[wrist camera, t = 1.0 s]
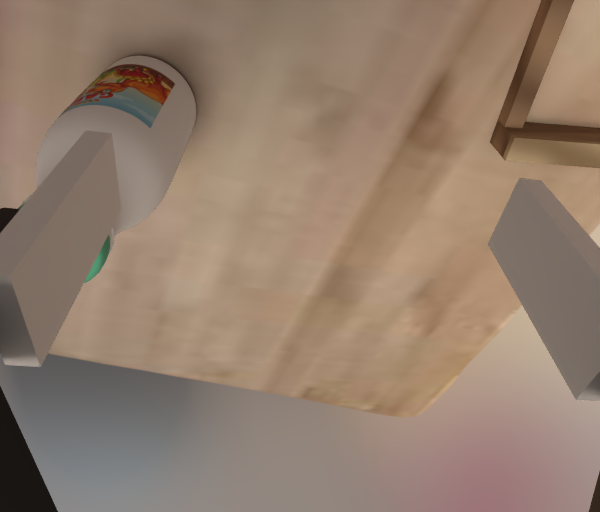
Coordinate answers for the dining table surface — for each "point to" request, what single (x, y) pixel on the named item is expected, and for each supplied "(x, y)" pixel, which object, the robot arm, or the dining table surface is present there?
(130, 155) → the milk bottle
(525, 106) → the guide
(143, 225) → the dining table surface
